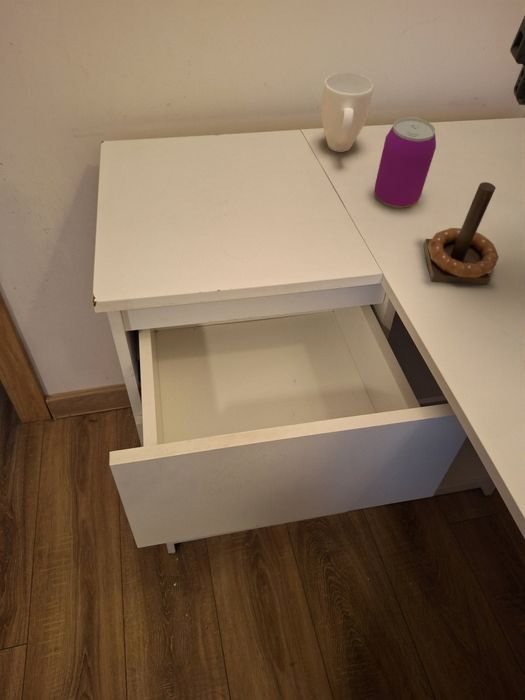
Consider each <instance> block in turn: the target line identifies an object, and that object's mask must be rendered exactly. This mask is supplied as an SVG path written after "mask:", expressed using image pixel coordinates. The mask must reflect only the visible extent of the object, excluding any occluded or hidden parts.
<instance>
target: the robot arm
mask: <svg viewBox="0 0 525 700" xmlns="http://www.w3.org/2000/svg"><path fill="white" fill-rule="evenodd" d="M516 32H517V33H516V34H515V36H514V38H513V42H512V44H511V46H510V50H509V52H510V54H511V56H512V57H513V59H514V60H515V63H516V64H517V65H522V67H521V70H520V72H519V74H518V77H517V79H516V82H515V84H514V86H513V95H514V97H515V99H516V102H517V103H518V106H525V15H523V18H522V20H521V23H520V25H519V28H518V30H517V31H516Z"/></svg>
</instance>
